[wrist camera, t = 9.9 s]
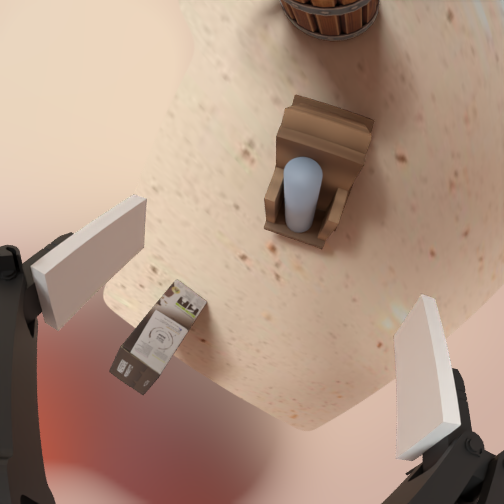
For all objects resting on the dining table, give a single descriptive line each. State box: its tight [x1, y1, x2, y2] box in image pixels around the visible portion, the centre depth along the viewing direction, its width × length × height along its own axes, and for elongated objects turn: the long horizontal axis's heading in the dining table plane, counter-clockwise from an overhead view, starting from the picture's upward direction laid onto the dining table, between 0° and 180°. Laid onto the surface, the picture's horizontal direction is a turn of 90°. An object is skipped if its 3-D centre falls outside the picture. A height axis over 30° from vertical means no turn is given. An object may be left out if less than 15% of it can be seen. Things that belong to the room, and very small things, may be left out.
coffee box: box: [110, 280, 207, 395], centre depth 46 cm, size 9×6×16 cm
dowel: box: [284, 157, 323, 233], centre depth 32 cm, size 3×3×12 cm
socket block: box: [264, 95, 374, 249], centre depth 32 cm, size 16×9×12 cm, turn 167°
